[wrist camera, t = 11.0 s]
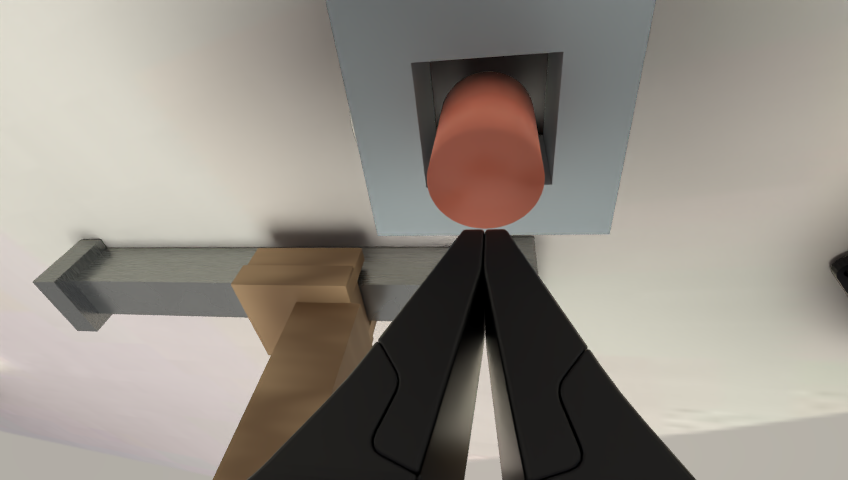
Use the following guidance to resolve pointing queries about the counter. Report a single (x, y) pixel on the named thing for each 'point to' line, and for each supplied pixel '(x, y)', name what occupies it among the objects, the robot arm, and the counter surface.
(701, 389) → the counter surface
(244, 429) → the wooden t-block
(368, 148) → the box
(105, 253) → the rail
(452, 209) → the button
